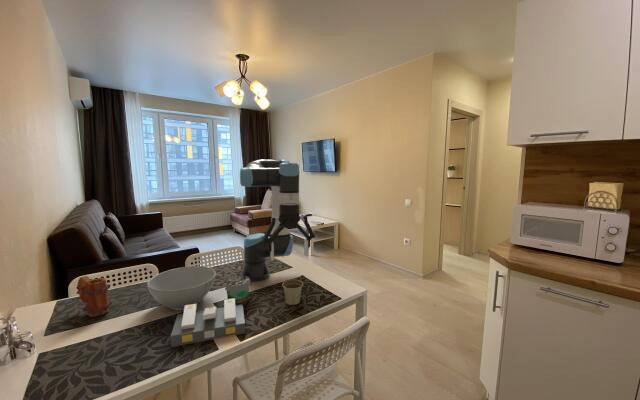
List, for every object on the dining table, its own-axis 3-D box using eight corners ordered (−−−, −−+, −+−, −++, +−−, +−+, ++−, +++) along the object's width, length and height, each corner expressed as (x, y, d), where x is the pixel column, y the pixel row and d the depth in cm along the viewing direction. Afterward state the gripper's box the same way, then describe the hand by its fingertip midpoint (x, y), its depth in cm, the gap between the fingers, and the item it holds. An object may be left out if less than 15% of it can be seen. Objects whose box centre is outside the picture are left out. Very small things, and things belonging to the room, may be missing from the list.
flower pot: (300, 308, 115) (300, 289, 114) (279, 306, 117) (279, 287, 116) (305, 298, 124) (305, 280, 123) (286, 296, 126) (286, 278, 125)
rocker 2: (205, 312, 103) (205, 308, 103) (216, 310, 105) (216, 306, 105) (203, 319, 94) (203, 314, 94) (215, 317, 95) (215, 312, 95)
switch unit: (178, 324, 103) (177, 311, 102) (242, 313, 111) (242, 302, 110) (171, 347, 89) (170, 333, 89) (245, 333, 97) (244, 320, 97)
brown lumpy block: (116, 310, 112) (114, 276, 110) (95, 321, 104) (91, 284, 102) (93, 304, 116) (90, 271, 115) (71, 314, 109) (67, 279, 107)
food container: (235, 311, 112) (234, 288, 111) (225, 307, 115) (224, 285, 114) (256, 299, 123) (256, 278, 121) (247, 295, 126) (246, 275, 125)
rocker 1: (185, 308, 101) (184, 305, 100) (196, 307, 102) (196, 303, 102) (181, 329, 92) (181, 325, 92) (194, 327, 94) (193, 323, 93)
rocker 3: (224, 302, 106) (224, 299, 105) (234, 301, 107) (234, 298, 106) (224, 322, 97) (224, 318, 96) (235, 320, 98) (235, 316, 98)
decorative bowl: (227, 302, 119) (226, 276, 118) (160, 328, 100) (158, 297, 98) (201, 284, 137) (200, 262, 136) (141, 303, 118) (139, 277, 117)
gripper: (257, 206, 94) (258, 264, 96) (323, 203, 103) (322, 256, 105) (254, 203, 101) (255, 257, 103) (316, 201, 110) (316, 251, 112)
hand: (289, 257), depth 104 cm, fingers open, 13 cm apart
